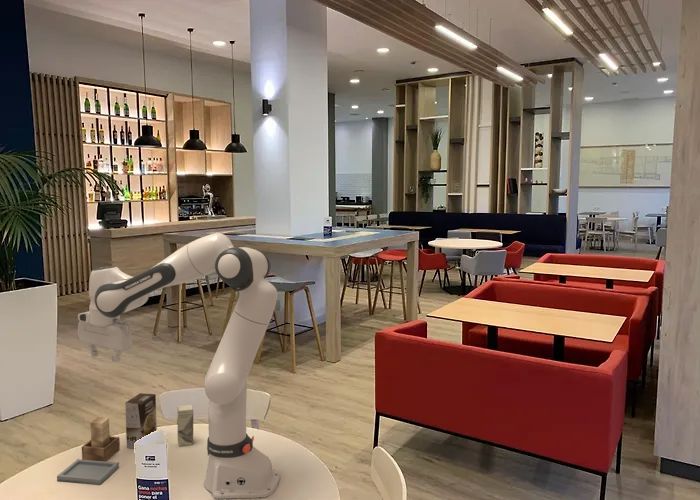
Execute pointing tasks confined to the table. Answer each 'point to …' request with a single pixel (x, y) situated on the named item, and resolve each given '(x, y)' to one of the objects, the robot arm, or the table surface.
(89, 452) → the holder
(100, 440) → the pin
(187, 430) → the box
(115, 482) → the table surface
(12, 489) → the table surface
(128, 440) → the coffee box
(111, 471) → the tray
